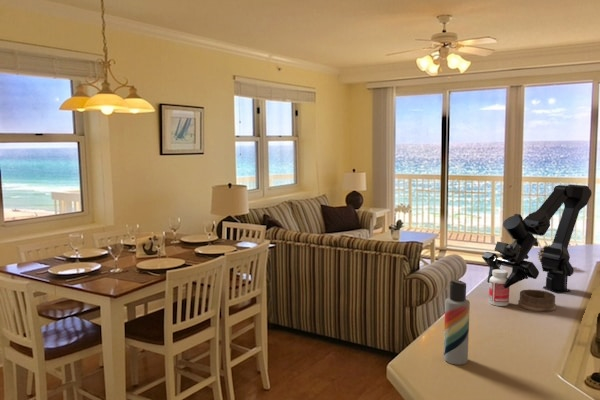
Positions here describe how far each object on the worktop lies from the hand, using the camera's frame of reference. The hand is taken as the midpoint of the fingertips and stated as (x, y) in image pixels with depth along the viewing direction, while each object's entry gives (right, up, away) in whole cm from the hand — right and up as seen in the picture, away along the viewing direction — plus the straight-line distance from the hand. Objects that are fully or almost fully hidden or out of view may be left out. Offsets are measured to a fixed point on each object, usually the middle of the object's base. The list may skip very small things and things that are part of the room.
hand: (496, 284), depth 163 cm
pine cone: (+43, -1, +51) cm, 67 cm away
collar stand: (+13, -7, -1) cm, 14 cm away
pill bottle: (+1, -7, +1) cm, 7 cm away
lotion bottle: (-26, -12, -41) cm, 50 cm away
